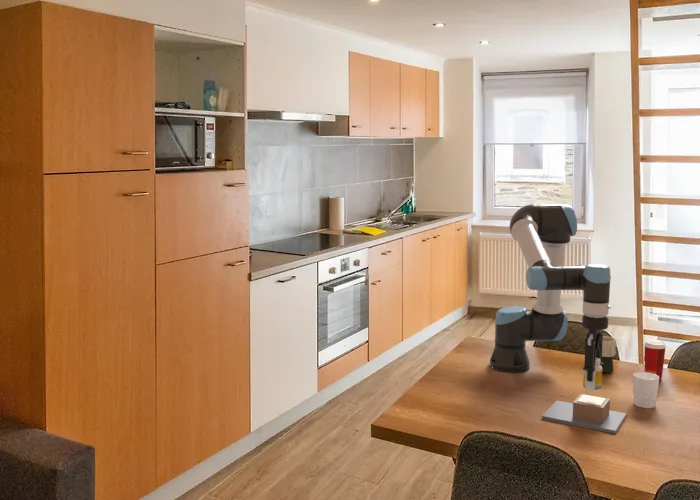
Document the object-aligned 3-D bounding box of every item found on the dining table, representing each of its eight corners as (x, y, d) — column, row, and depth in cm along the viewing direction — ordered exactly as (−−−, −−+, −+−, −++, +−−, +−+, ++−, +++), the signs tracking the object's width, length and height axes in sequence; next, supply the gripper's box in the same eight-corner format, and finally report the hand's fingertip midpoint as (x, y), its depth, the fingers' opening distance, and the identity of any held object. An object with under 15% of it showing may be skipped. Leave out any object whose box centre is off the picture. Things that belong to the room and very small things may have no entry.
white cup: (627, 400, 229) (628, 372, 227) (649, 400, 229) (651, 371, 228) (639, 409, 221) (640, 379, 219) (662, 408, 221) (664, 379, 220)
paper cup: (660, 376, 254) (662, 339, 252) (667, 383, 246) (669, 345, 244) (638, 375, 254) (640, 339, 252) (645, 382, 247) (647, 345, 245)
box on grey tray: (541, 418, 213) (542, 399, 213) (556, 403, 227) (557, 385, 226) (615, 433, 202) (616, 413, 201) (626, 416, 215) (627, 397, 214)
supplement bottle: (579, 387, 213) (580, 357, 212) (592, 384, 215) (593, 355, 214) (592, 392, 208) (593, 362, 207) (605, 389, 210) (606, 359, 209)
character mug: (620, 375, 254) (622, 342, 253) (602, 376, 254) (604, 342, 252) (606, 366, 265) (608, 334, 263) (589, 367, 264) (590, 335, 263)
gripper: (601, 322, 199) (597, 398, 202) (614, 310, 214) (611, 381, 217) (575, 319, 203) (572, 394, 206) (590, 307, 218) (587, 377, 221)
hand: (592, 387), depth 212 cm, fingers closed on supplement bottle, 5 cm apart
